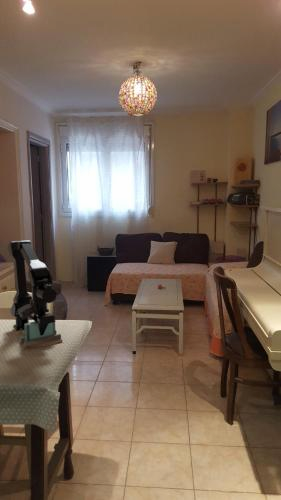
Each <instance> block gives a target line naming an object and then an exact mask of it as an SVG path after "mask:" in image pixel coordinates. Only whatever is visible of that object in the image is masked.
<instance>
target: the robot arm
mask: <svg viewBox="0 0 281 500" xmlns="http://www.w3.org/2000/svg"><path fill="white" fill-rule="evenodd" d="M6 247H7V248H6V249H7V252H8V254H9V255H8V256H9V258H11V259H12V260H13V270H14V280H15V282H14V283H15V290H16V291H15V295H14V297H13V299H12V300H13V301H12V302H13V303H12V305H11V307H10V315H11V316H13V317H15V324H13V327H14V328H15V329H16V331H18V330H19V331H20V330H25V327H24V324H26V323H30V321H29V319H32V320H33V322H37V323H38V325H39V331H40V335H43V334H44V332H45V330H46V328H47V326H48V324H49V323H53V322H55V323H56V316H55V315H53V313H51V312H50V309H49V308H48V304H51V303H53V302H54V301H56V299H57V296H58V294H57V292H56V290H55V289H54V288H52V285H53V276H52V274H51V272H50V269H49V268H48V267H47V265H46V264H45V263H44V262H43V261H40V260H39V257H38V256H37V254H36V252H35V250H34V248H33V245H32V242H31V240H28V239H25V240H11V241H9V243H7V246H6ZM25 264H26V265H27V267H28V271H27V272H26V265H25ZM26 273H27V274H26ZM27 276H28V279H29V281H30V285H31V295H30V294H29V292H28V285H27V284H28V283H27ZM29 317H30V318H29Z"/></svg>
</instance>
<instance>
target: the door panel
mask: <svg viewBox="0 0 281 500" xmlns="http://www.w3.org/2000/svg"><path fill="white" fill-rule="evenodd" d="M24 327H25V329H24V336H25V341H28V340H33V339H37V338H42V337H47V336H51V335H56V333H57V330H56V322H53V323H49V324H48V326H47V328H46V330H45V332H44V334H43V335H40V331H39V325H38V323H37V322H35V321H32V322H31V321H30V322H29V323H26V324H24ZM55 330H56V331H55Z"/></svg>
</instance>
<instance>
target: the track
mask: <svg viewBox="0 0 281 500" xmlns="http://www.w3.org/2000/svg"><path fill="white" fill-rule="evenodd" d="M55 331H56V335H51V336H47V337H42V338H37V339H33V340H28V341H25V335H23V336H21V337H20V338H19V339H20V340H19V341H18V342H19V344H20V345H21V346H22V347H23V348H24V350H25V349H26V350H25V351H29V349H30V350H33V349H38V348H42V347H46V346H52V345H56V344H60V343H63V342H64V340H63V338H62V333H58V334H57V330H56V329H55Z"/></svg>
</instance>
